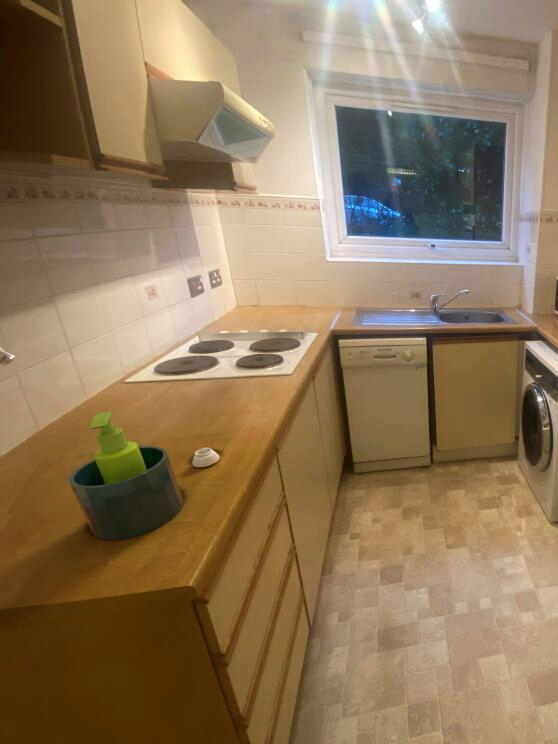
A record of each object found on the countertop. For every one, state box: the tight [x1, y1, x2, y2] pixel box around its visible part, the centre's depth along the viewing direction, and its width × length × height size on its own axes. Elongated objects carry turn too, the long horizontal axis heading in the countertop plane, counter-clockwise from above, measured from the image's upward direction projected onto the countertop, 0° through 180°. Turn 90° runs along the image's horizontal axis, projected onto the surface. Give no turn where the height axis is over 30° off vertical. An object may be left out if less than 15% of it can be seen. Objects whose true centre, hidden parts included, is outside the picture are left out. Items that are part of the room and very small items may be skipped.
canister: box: [68, 445, 184, 542], centre depth 79 cm, size 13×13×11 cm
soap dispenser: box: [90, 410, 147, 484], centre depth 77 cm, size 6×7×20 cm
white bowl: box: [191, 447, 220, 468], centre depth 97 cm, size 5×3×5 cm
